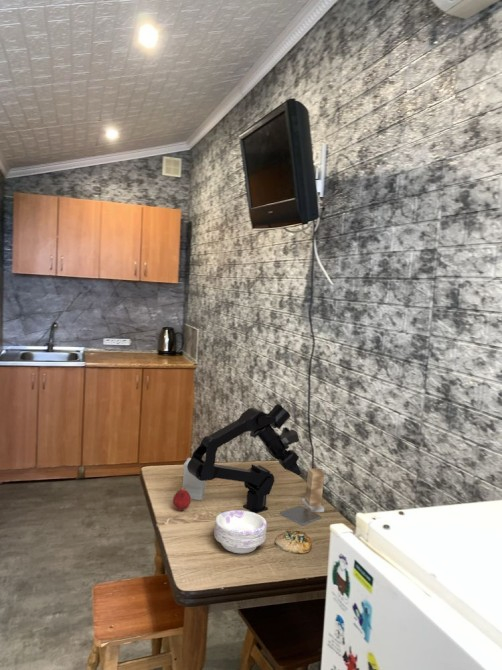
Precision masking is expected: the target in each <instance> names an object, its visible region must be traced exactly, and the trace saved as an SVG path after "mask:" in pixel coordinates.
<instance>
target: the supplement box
mask: <svg viewBox="0 0 502 670" xmlns="http://www.w3.org/2000/svg"><path fill="white" fill-rule="evenodd" d="M191 458H192V457H187V458H186V461H184V463H183V476H182V487H181V489H182V488H183V487H184V488H185V491H187V492H188V493H189V494H190V497H191V500H195V501H202V499H203V498H204V496H205V493H206V482H207V481H201V480H199V479H197V478H196V477H195V476H193V475H192V474H191V473H189V471H188V468H187V466H188V463H189V461H190V460H191Z"/></svg>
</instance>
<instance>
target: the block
mask: <svg viewBox="0 0 502 670" xmlns="http://www.w3.org/2000/svg"><path fill="white" fill-rule="evenodd" d="M306 478H307V480H306V488H305V497H304V498H303V497H302V498H301V503H302V504H303V505H304V506H305V508H306V509H308V510H310V511H312V512H314V513H324V512H325V507H324V506H323V505H322V500H323V491H324V480H325V471H323V470H321V469H320V468H308V469H307V477H306Z"/></svg>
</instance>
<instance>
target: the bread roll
mask: <svg viewBox="0 0 502 670" xmlns="http://www.w3.org/2000/svg"><path fill="white" fill-rule="evenodd" d="M274 542H275V546H276V547H277V549H280V550H281V551H284V552H286V553H289V554H299V555H300V554H303V555H304V554H307V553H309V552H310V551H311V550H312V547H313V544H312V543H313V541H312V540H311V537H310V536H309V535H308V534H306V532H305V531H301V530H299V529H297V530H285V532H282V533H280V534H279V535H277V536H276V538H275V540H274Z"/></svg>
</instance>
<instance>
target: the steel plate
mask: <svg viewBox="0 0 502 670" xmlns="http://www.w3.org/2000/svg"><path fill="white" fill-rule="evenodd" d="M279 514H280V516H282V517H285V518H286V519H288V520H290V521H292V522H293V523H295V524H298V525H300V526H301V527H302V526H305V525H307V524H311V523H313V522H316V521H318V520H321V519H322V515H321V514H318V513H317V512H312V511H310V510H309V509H308V508H307V507H304V506H302V505H297V506H294V507H291V508H288V509H285V510H282V511H280V513H279Z"/></svg>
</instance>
